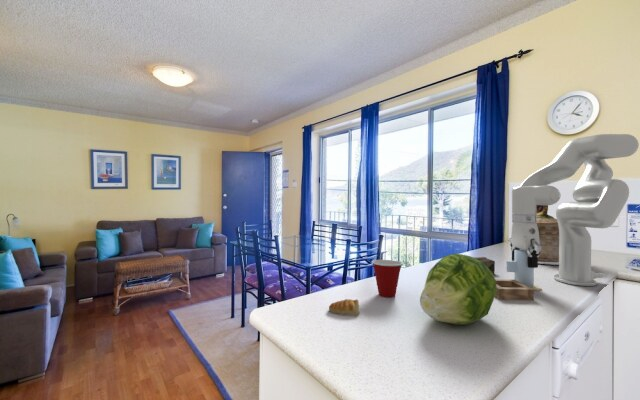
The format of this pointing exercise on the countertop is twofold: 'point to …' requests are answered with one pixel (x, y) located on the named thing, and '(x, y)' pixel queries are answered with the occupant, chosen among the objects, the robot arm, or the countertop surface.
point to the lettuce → (458, 290)
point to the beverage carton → (487, 263)
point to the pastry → (345, 307)
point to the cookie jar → (547, 236)
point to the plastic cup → (387, 276)
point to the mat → (536, 288)
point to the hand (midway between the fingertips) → (524, 264)
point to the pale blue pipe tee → (521, 268)
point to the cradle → (513, 290)
